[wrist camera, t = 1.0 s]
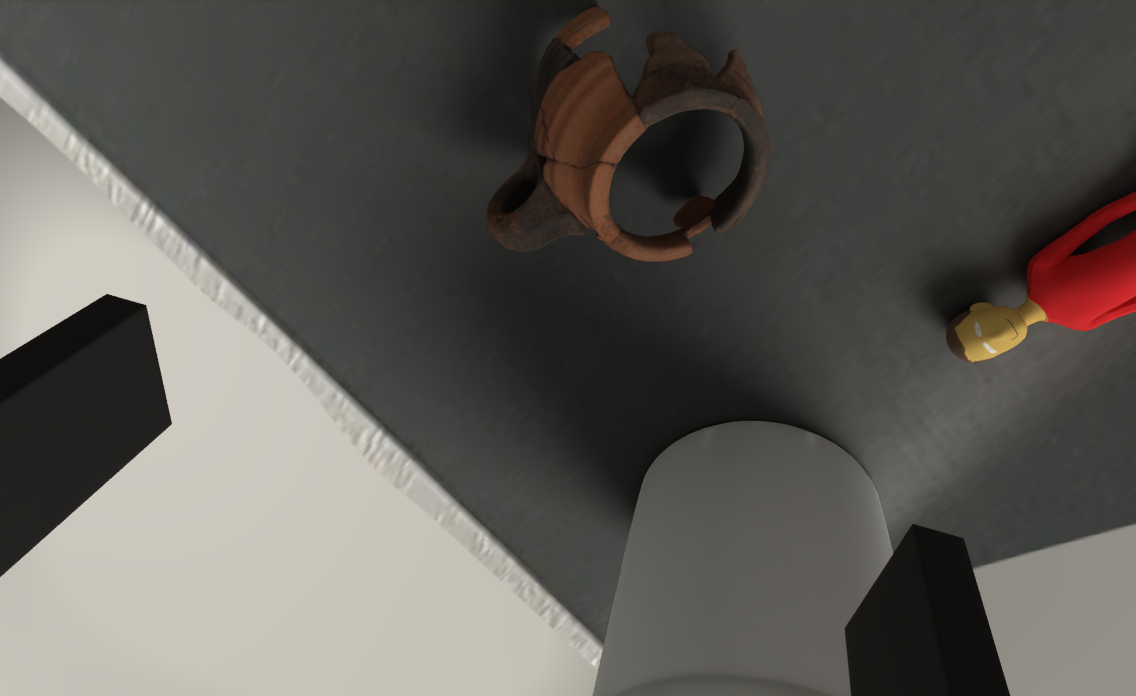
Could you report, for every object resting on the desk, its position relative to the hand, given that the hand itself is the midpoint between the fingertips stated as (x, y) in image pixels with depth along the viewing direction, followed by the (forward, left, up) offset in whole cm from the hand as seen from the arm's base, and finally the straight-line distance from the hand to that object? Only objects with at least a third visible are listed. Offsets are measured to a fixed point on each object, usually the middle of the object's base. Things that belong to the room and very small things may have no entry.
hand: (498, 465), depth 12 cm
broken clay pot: (0, -2, -23) cm, 23 cm away
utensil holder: (+23, -5, -23) cm, 33 cm away
